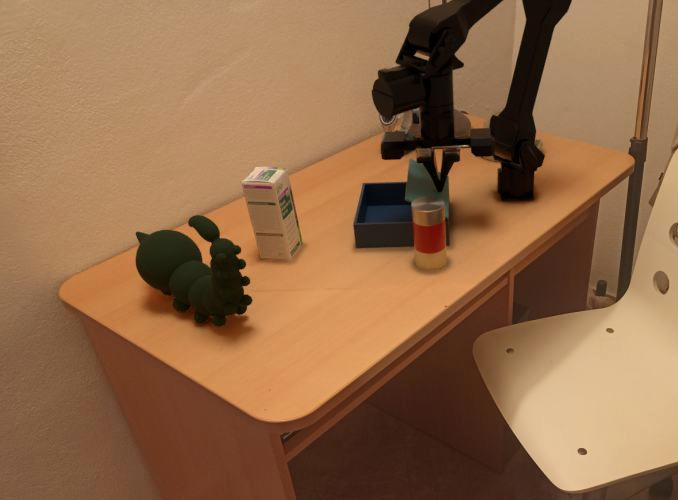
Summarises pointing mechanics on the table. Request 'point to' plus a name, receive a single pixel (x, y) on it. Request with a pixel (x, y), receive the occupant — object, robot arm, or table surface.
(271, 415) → the table surface
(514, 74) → the robot arm
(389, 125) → the watch
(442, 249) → the can
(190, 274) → the toy figurine
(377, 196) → the dark blue open box
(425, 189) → the lid
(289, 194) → the syrup box
